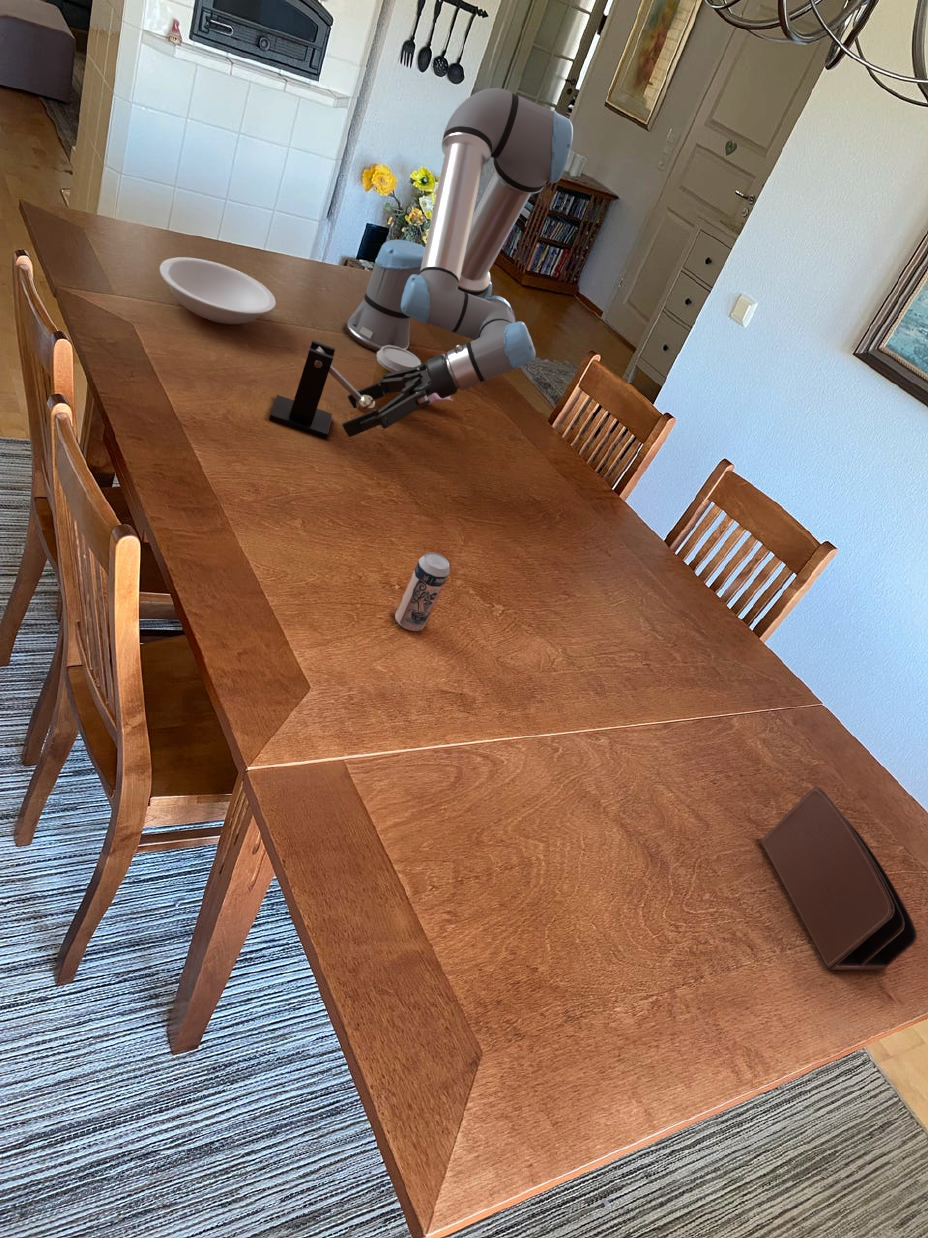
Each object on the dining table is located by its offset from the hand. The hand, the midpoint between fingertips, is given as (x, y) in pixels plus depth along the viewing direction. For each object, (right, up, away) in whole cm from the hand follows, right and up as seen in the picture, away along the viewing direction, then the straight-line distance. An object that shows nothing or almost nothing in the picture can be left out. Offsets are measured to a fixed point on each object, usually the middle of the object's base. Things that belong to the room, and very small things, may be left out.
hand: (348, 415), depth 176 cm
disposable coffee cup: (+5, +5, +18) cm, 19 cm away
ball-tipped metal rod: (-2, +4, -3) cm, 6 cm away
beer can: (+14, -39, -36) cm, 55 cm away
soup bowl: (-32, +26, +22) cm, 47 cm away
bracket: (-9, -1, 0) cm, 9 cm away
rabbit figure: (+12, +8, +26) cm, 30 cm away
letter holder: (+70, -78, -49) cm, 116 cm away
